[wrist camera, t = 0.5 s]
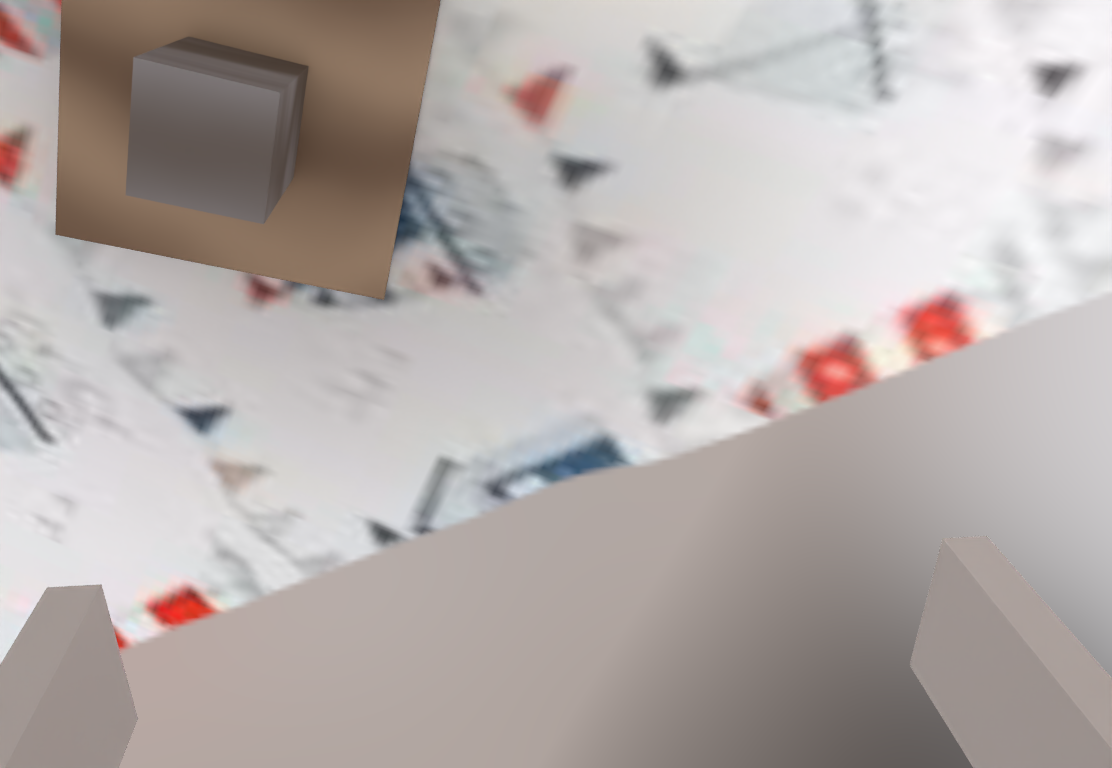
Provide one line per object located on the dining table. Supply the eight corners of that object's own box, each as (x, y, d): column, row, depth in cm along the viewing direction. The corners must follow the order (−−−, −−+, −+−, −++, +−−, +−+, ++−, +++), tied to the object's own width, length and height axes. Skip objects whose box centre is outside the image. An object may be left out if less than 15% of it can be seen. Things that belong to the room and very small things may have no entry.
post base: (82, -127, 29) (-26, -146, 23) (445, -27, 32) (444, -17, 25) (70, 223, 34) (-21, 291, 27) (386, 286, 37) (372, 363, 30)
